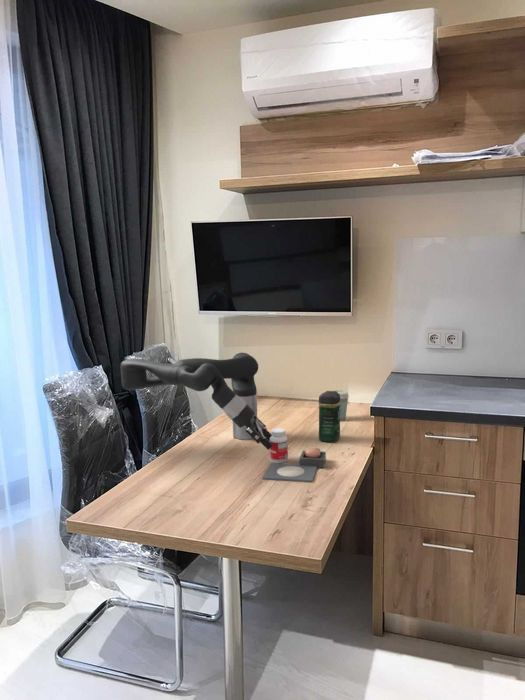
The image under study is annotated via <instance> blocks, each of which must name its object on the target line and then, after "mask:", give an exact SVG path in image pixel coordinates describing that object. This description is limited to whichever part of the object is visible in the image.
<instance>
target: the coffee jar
mask: <svg viewBox="0 0 525 700" xmlns="http://www.w3.org/2000/svg"><path fill="white" fill-rule="evenodd" d="M340 438H341V421H340V394H339V393H337V392H336V391H335V390H326V391H324V392H323V393H321V394H320V395H319V396H318V440H319V441H322V442H325V443H333V442H335V443H336V442H337V441H339V439H340Z"/></svg>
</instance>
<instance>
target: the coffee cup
mask: <svg viewBox="0 0 525 700" xmlns="http://www.w3.org/2000/svg"><path fill="white" fill-rule="evenodd" d="M334 391H336V392H337V393H339V394H340V422H343V421H346V420H345V419H347V418H346V417H347V411H348V410H347V409H348V399H349V394H348V391H347V390H339V389H338V390H334Z"/></svg>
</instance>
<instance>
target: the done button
mask: <svg viewBox="0 0 525 700" xmlns="http://www.w3.org/2000/svg"><path fill="white" fill-rule="evenodd" d="M304 451H305V456H306V457H308V458H318V457H320V451H321V449H320V448H319V447H315V446H314V447H307V448H305V449H304Z"/></svg>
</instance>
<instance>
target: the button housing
mask: <svg viewBox="0 0 525 700" xmlns="http://www.w3.org/2000/svg"><path fill="white" fill-rule="evenodd" d="M326 458H327V452H326V451H322V450H320V457H318V458H308V457H306V456H305V450H302V452H301V454H300V457H299V458H298V460H299V461H298V463H299V464H298V465H304V466H317V469H324V466H325V463H326V460H327V459H326Z"/></svg>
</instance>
